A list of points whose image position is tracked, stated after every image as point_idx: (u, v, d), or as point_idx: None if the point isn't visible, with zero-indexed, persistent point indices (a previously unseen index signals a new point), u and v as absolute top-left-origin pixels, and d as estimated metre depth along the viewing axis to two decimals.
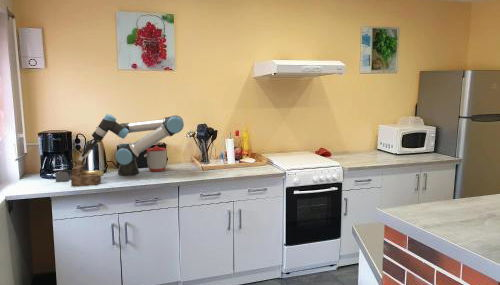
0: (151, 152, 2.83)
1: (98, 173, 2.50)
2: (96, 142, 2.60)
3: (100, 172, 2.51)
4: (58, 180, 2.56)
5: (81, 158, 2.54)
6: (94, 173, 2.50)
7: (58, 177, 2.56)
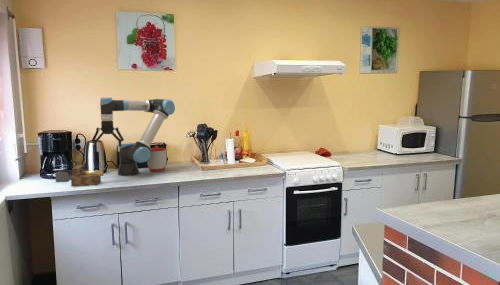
0: (151, 152, 2.83)
1: (98, 174, 2.50)
2: None
3: (100, 172, 2.50)
4: (58, 180, 2.56)
5: (119, 148, 2.53)
6: (94, 173, 2.50)
7: (58, 177, 2.56)
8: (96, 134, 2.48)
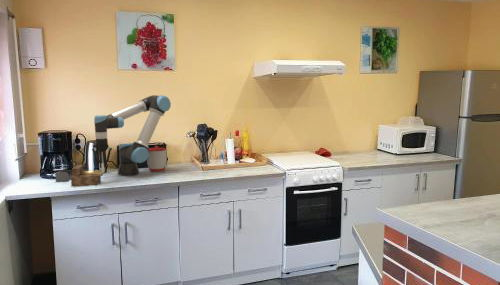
0: (151, 152, 2.83)
1: (97, 174, 2.50)
2: None
3: (99, 173, 2.50)
4: (58, 180, 2.56)
5: (104, 169, 2.53)
6: (93, 174, 2.49)
7: (58, 177, 2.56)
8: (96, 154, 2.49)
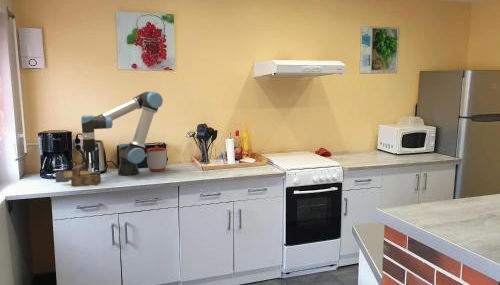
0: (151, 152, 2.83)
1: (85, 174, 2.48)
2: None
3: (87, 173, 2.49)
4: (58, 180, 2.56)
5: (91, 170, 2.51)
6: (81, 174, 2.48)
7: (58, 177, 2.56)
8: (83, 155, 2.47)
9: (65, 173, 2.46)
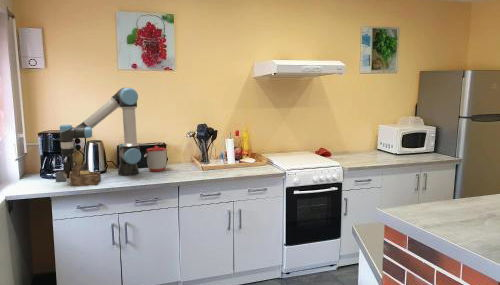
0: (151, 152, 2.83)
1: (84, 174, 2.49)
2: None
3: (87, 172, 2.49)
4: (58, 180, 2.56)
5: None
6: (80, 173, 2.48)
7: (58, 177, 2.56)
8: (68, 165, 2.43)
9: None
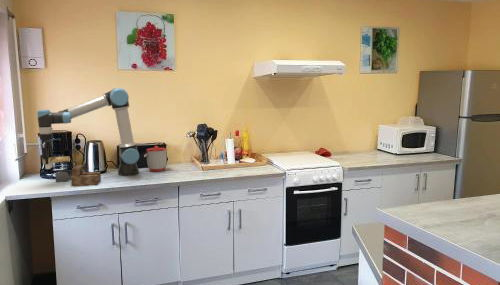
0: (151, 152, 2.83)
1: (64, 159, 2.45)
2: None
3: (66, 158, 2.45)
4: (58, 180, 2.56)
5: None
6: (60, 159, 2.45)
7: (58, 177, 2.56)
8: (46, 150, 2.40)
9: None
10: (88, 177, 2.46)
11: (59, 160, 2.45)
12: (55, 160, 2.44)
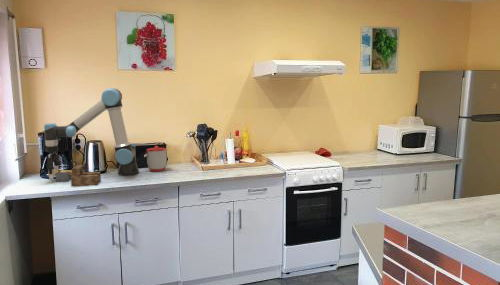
0: (151, 152, 2.83)
1: (69, 173, 2.59)
2: None
3: (71, 172, 2.59)
4: (58, 180, 2.56)
5: None
6: None
7: (58, 177, 2.56)
8: (51, 161, 2.51)
9: None
10: (88, 177, 2.46)
11: None
12: None
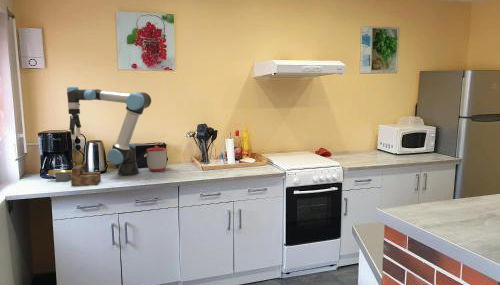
0: (151, 152, 2.83)
1: (68, 173, 2.59)
2: None
3: (71, 172, 2.59)
4: (58, 180, 2.56)
5: None
6: None
7: (58, 177, 2.56)
8: (74, 122, 2.60)
9: (50, 171, 2.57)
10: (88, 177, 2.46)
11: None
12: None
